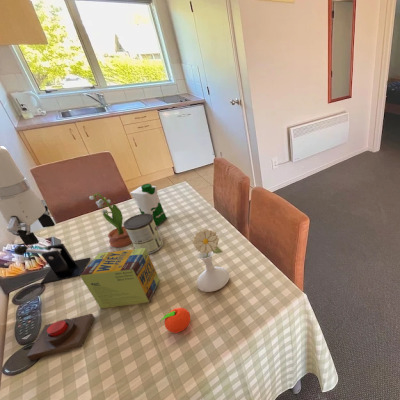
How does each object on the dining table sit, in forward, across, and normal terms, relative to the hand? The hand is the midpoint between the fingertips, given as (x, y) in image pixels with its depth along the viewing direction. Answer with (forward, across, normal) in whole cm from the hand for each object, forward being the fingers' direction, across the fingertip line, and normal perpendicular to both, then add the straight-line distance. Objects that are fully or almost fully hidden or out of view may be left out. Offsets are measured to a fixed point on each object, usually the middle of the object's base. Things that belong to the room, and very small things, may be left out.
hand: (41, 234), depth 87 cm
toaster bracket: (+22, -7, -4) cm, 24 cm away
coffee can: (+22, -13, +23) cm, 34 cm away
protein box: (+22, +13, +22) cm, 34 cm away
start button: (+19, +25, +8) cm, 32 cm away
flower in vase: (+22, +17, +50) cm, 58 cm away
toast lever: (+12, -7, -9) cm, 16 cm away
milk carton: (+22, -34, +22) cm, 46 cm away
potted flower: (+22, -21, +11) cm, 32 cm away
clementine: (+22, +32, +40) cm, 56 cm away
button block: (+22, +25, +8) cm, 34 cm away
